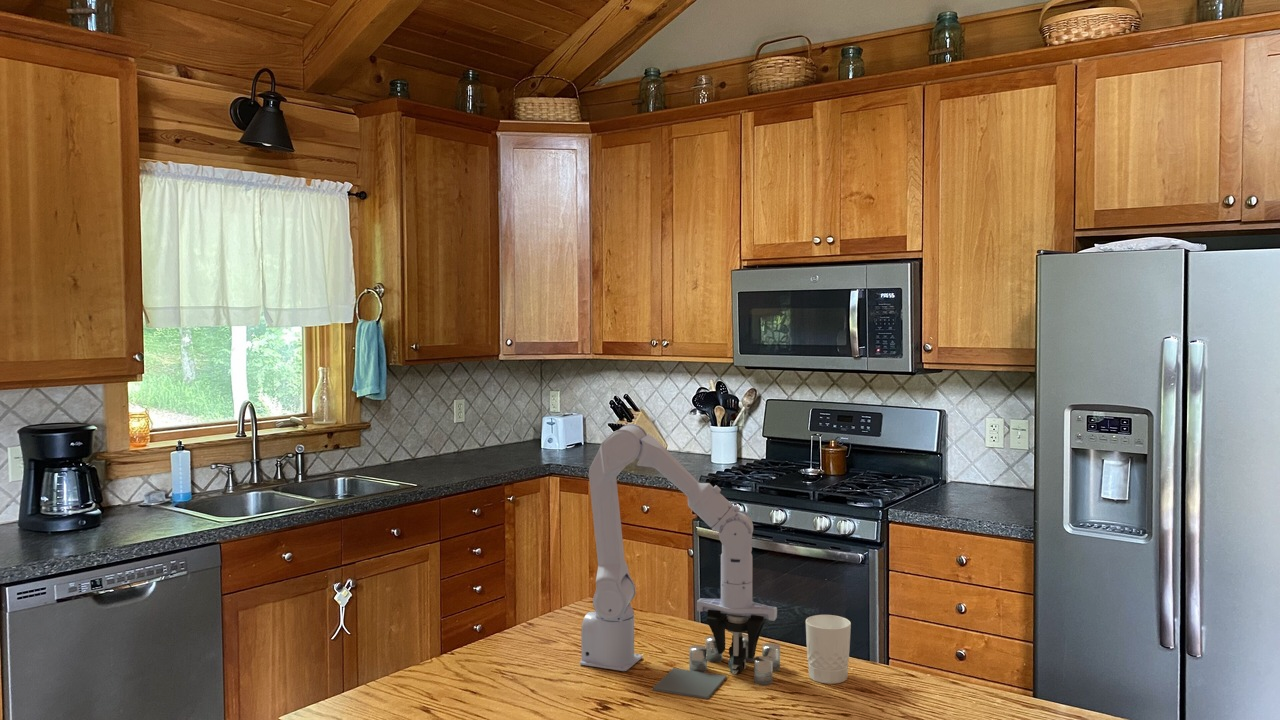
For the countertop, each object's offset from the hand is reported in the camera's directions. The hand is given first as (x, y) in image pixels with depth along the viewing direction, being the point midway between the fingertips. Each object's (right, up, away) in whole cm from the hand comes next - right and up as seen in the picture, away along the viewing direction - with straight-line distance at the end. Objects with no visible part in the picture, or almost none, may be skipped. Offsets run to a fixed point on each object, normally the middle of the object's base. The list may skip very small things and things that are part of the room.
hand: (736, 654), depth 173 cm
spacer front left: (-7, -3, 0) cm, 8 cm away
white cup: (+16, -3, -3) cm, 17 cm away
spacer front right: (+4, -3, -5) cm, 8 cm away
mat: (-9, -3, -6) cm, 11 cm away
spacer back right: (+6, -3, +1) cm, 7 cm away
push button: (0, -3, 0) cm, 3 cm away
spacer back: (+2, -3, +6) cm, 7 cm away
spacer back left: (-4, -3, +6) cm, 7 cm away
